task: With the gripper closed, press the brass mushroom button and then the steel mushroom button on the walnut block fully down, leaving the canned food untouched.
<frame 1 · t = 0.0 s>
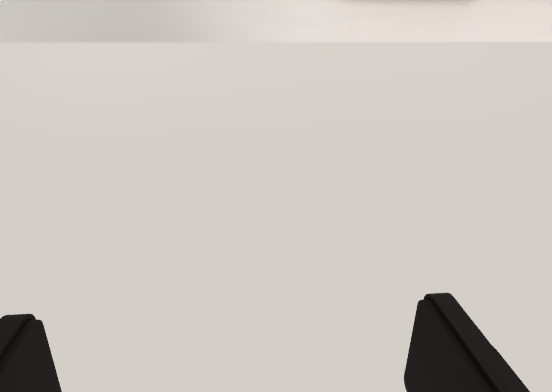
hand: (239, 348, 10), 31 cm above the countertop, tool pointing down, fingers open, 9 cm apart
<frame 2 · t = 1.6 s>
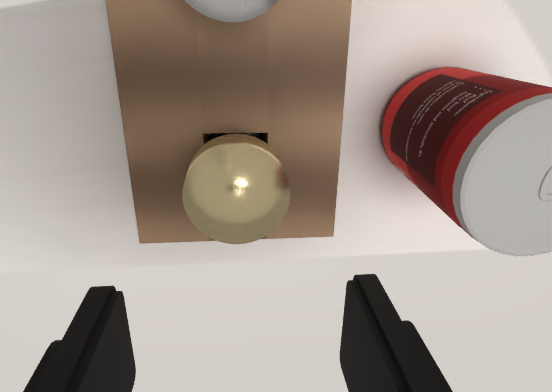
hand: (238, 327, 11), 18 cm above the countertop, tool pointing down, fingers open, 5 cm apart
canned food: (433, 123, 28), on the countertop
button block: (233, 65, 25), on the countertop
brass button: (236, 174, 22), point 6 cm above the countertop, slide at 2.5 cm
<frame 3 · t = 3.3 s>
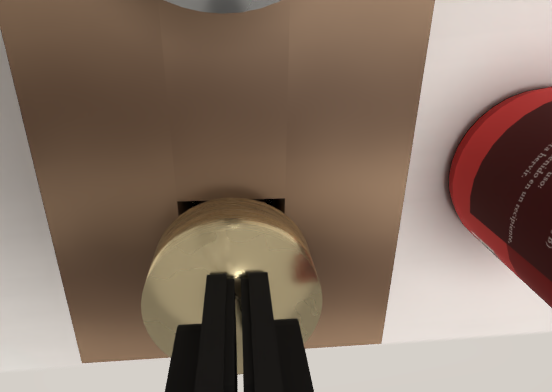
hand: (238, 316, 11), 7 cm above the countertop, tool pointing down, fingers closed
canned food: (522, 165, 19), on the countertop
button block: (229, 83, 16), on the countertop
brass button: (233, 251, 14), point 4 cm above the countertop, slide at 1.0 cm, touching gripper
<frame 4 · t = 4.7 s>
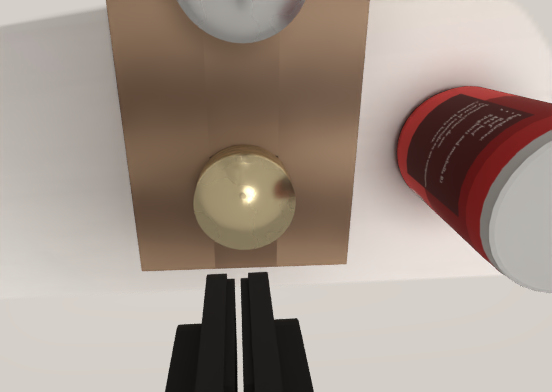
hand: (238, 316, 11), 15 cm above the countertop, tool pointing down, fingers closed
canned food: (451, 143, 27), on the countertop
button block: (242, 84, 24), on the countertop
brass button: (244, 183, 23), point 3 cm above the countertop, slide at 0.0 cm
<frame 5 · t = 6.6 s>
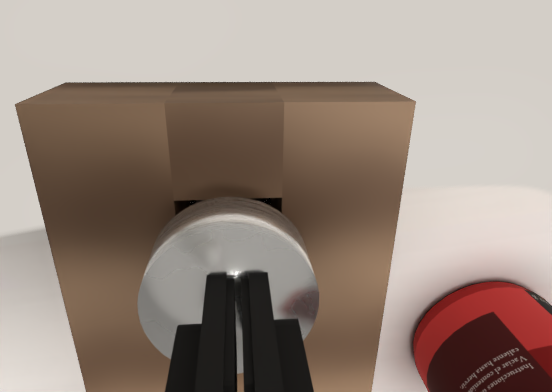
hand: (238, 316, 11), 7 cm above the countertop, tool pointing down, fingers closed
canned food: (474, 330, 23), on the countertop
button block: (233, 290, 20), on the countertop
steel button: (230, 250, 14), point 4 cm above the countertop, slide at 1.0 cm, touching gripper
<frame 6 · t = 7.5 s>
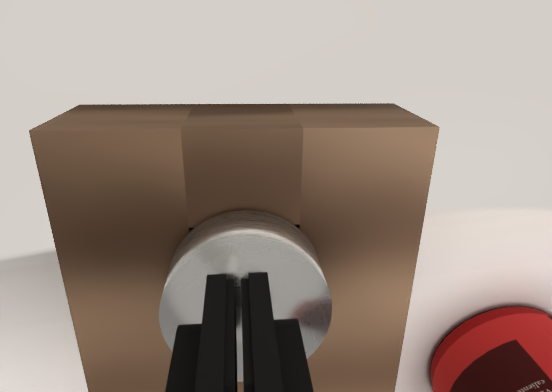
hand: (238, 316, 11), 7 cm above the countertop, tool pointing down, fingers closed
canned food: (494, 355, 22), on the countertop
button block: (246, 314, 20), on the countertop
steel button: (245, 261, 15), point 3 cm above the countertop, slide at 0.0 cm
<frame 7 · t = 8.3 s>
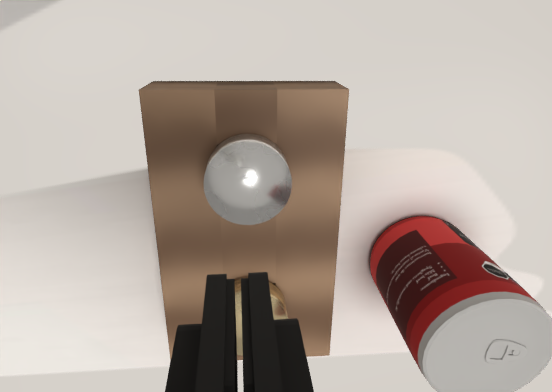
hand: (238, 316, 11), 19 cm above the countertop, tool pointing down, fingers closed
canned food: (413, 253, 33), on the countertop
button block: (248, 217, 31), on the countertop
brass button: (250, 299, 30), point 3 cm above the countertop, slide at 0.0 cm
steel button: (247, 168, 26), point 3 cm above the countertop, slide at 0.0 cm
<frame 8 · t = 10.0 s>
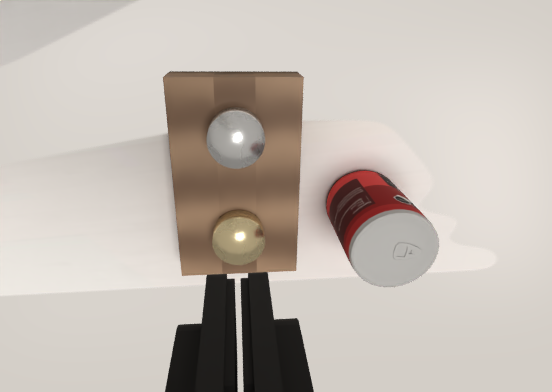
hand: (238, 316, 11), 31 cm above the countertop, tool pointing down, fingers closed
canned food: (359, 199, 46), on the countertop
button block: (237, 170, 43), on the countertop
brass button: (238, 228, 42), point 3 cm above the countertop, slide at 0.0 cm
steel button: (235, 132, 38), point 3 cm above the countertop, slide at 0.0 cm
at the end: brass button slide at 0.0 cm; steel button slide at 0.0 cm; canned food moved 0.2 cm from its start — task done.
